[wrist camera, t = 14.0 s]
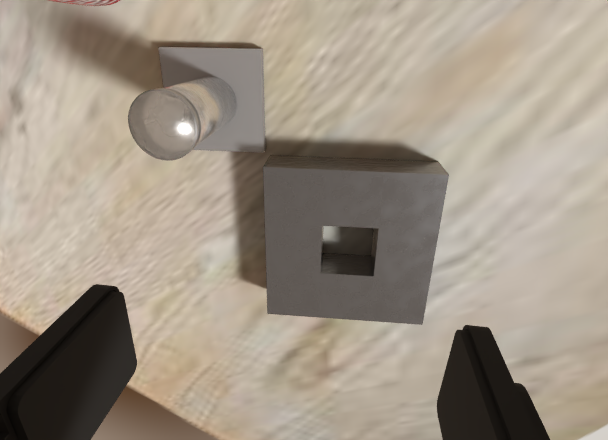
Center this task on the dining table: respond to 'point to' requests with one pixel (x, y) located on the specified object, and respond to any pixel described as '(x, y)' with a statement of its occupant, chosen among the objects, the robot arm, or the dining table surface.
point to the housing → (351, 213)
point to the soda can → (88, 2)
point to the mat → (243, 80)
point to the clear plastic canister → (180, 116)
